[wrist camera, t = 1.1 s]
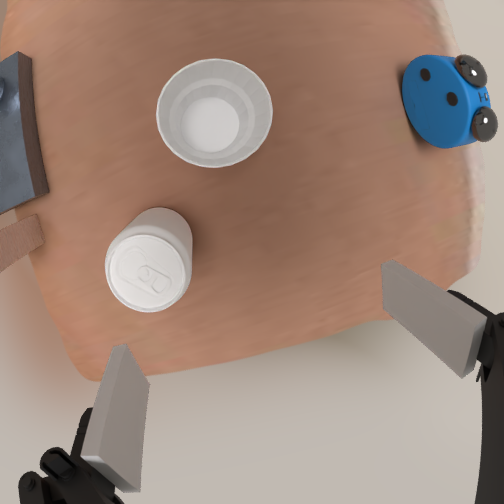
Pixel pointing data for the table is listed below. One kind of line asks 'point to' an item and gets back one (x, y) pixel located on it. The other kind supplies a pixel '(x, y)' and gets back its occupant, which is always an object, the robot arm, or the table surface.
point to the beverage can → (151, 261)
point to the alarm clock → (448, 100)
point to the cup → (214, 113)
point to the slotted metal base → (19, 136)
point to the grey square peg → (19, 240)
